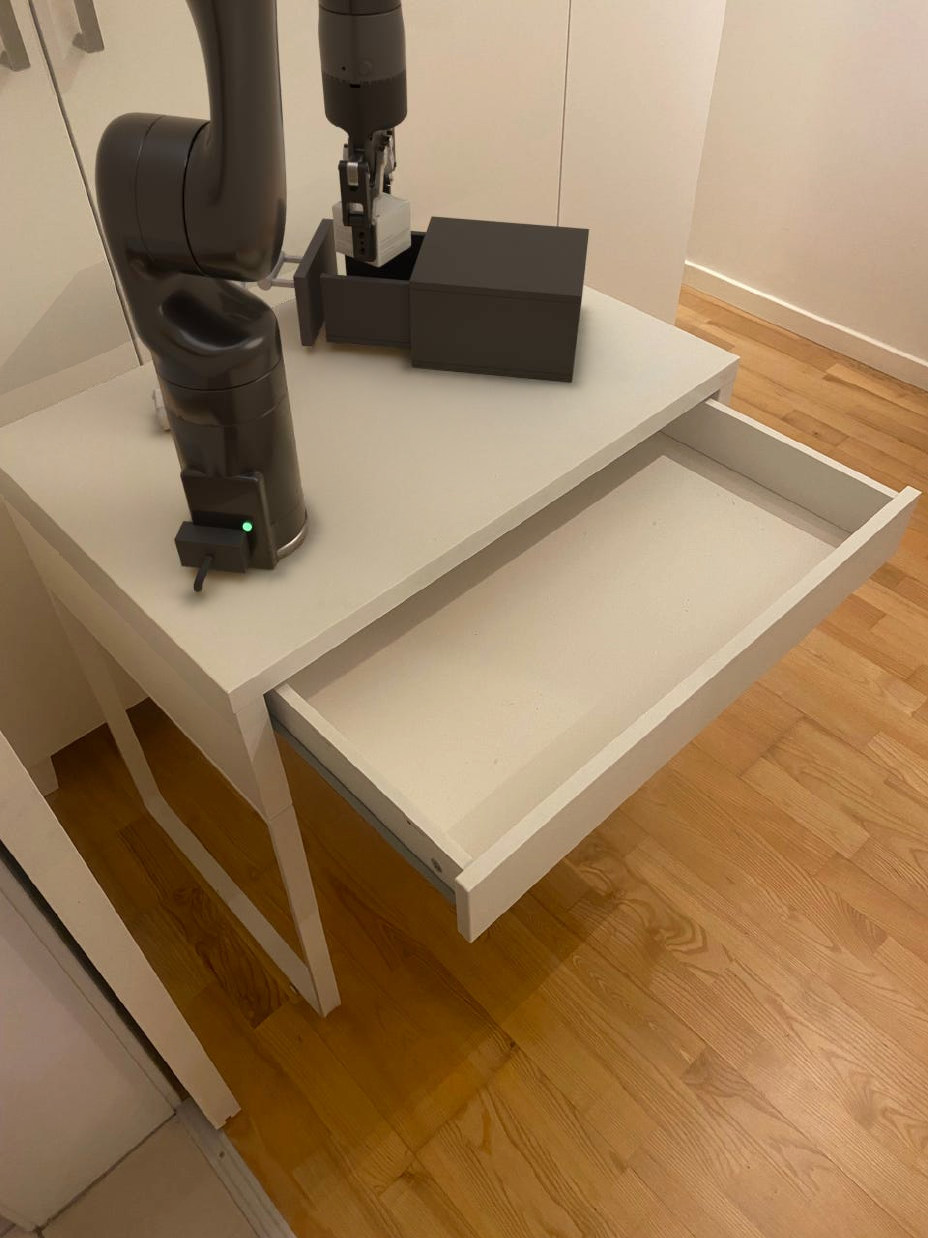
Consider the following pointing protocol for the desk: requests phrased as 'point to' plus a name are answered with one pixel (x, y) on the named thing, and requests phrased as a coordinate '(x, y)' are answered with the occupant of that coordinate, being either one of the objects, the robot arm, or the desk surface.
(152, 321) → the robot arm
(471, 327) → the dark brown box
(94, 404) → the desk surface
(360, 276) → the open dark drawer
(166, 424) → the smartwatch
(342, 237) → the small box
